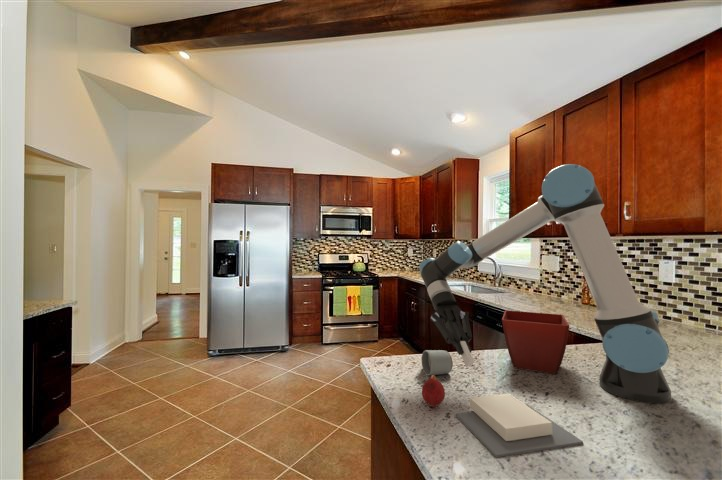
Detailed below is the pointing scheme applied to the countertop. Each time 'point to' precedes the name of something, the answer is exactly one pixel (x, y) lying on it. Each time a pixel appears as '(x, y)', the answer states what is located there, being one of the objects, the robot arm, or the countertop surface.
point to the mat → (519, 446)
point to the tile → (510, 417)
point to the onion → (433, 392)
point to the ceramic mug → (436, 362)
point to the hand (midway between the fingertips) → (470, 364)
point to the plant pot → (535, 340)
